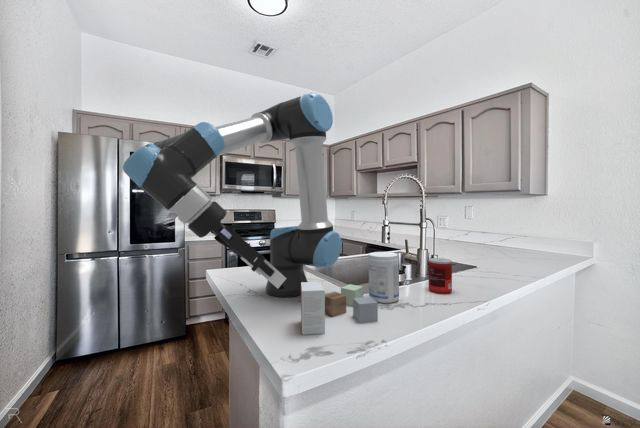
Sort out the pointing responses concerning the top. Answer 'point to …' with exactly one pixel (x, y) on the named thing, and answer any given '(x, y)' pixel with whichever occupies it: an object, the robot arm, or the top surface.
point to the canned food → (440, 275)
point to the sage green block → (352, 293)
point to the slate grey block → (365, 309)
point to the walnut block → (335, 304)
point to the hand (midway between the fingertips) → (271, 276)
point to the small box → (312, 308)
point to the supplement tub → (383, 277)
